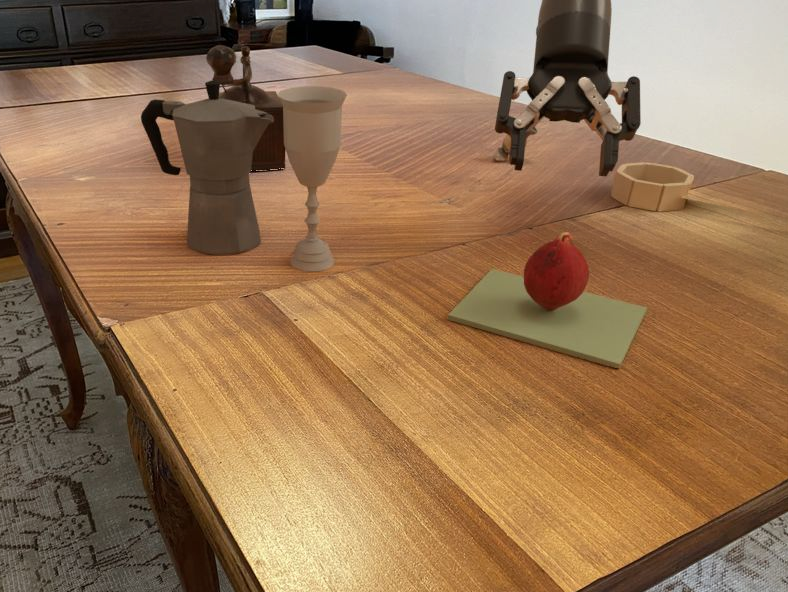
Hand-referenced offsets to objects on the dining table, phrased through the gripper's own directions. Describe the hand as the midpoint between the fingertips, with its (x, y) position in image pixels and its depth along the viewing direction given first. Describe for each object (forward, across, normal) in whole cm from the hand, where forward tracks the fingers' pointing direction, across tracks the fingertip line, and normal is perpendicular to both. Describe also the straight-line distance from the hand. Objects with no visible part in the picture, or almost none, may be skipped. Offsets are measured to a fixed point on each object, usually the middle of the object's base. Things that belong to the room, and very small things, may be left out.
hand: (561, 170), depth 73 cm
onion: (+15, 0, -1) cm, 16 cm away
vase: (-19, -2, +35) cm, 40 cm away
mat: (+16, 0, -1) cm, 16 cm away
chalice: (+11, -25, +4) cm, 28 cm away
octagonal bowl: (-10, +15, +26) cm, 31 cm away
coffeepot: (+8, -38, +7) cm, 39 cm away
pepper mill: (-11, -42, +26) cm, 50 cm away
